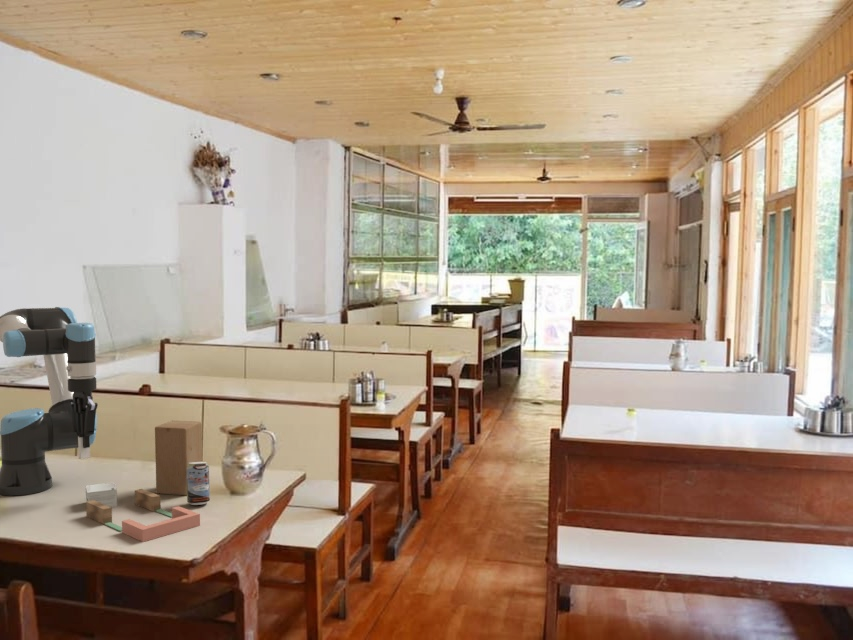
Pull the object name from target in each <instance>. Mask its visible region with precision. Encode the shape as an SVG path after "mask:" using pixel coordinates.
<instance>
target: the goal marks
mask: <svg viewBox="0 0 853 640" xmlns="http://www.w3.org/2000/svg"><path fill="white" fill-rule="evenodd" d="M155 513H159V514H162V515H164V516H166V517H169V518H171V519H172V512H169V511H167V510H164V509H162V508H161V509H159V510H156V511H155ZM105 526H107V527H109V528H110V529H113V530H116V531H118V532H119V533H120V532H122V526H120V525H117V524H116V523H113V522H112V523H111V522H109V523H105Z"/></svg>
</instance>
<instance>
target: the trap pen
mask: <svg viewBox="0 0 853 640" xmlns="http://www.w3.org/2000/svg"><path fill="white" fill-rule="evenodd" d="M171 513H172V518H171V519H166V520H163V521H159V522H155V523H151V524H148V525H144V524H142V523H140V522H137V521H135V520H133V519H131V518H128V519H124V520H121V527H122V531H121V532H122V534H124V535H127V536H128V537H131V538H134V539H135V540H138V541H140V542H142V543H144V542H147V541H150V540H154V539H158V538H162V537H164V536H169V535H173V534H175V533H178V532H181V531H186V530H189V529H193V528H196V527H200V526H201V513H198V512H196V511H193V510H190V509H187V508H185V507H182V506H173V507H171Z"/></svg>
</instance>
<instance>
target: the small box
mask: <svg viewBox="0 0 853 640" xmlns="http://www.w3.org/2000/svg"><path fill="white" fill-rule="evenodd" d="M117 490H118V489H117V485H116V483H115V482H103V483H96V484H90V485H85V500H86V501H85V503H86V502H87V501H92V500H94V501H97V502H99V503H101V504H104V505H106V506H109V507H111V508H114V507H118V491H117Z"/></svg>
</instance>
